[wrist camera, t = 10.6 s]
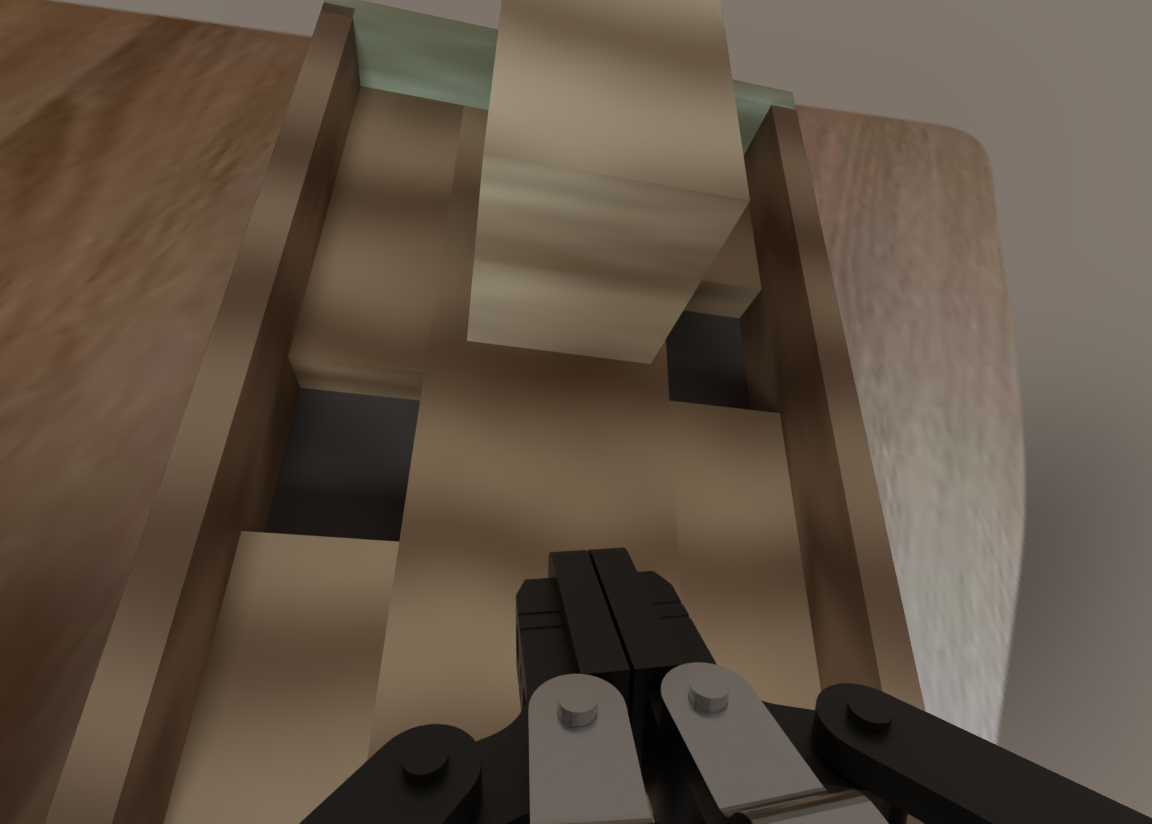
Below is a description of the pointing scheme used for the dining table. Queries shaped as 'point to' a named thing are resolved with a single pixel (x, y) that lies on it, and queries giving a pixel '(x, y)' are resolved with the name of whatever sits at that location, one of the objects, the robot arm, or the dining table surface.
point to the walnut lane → (466, 462)
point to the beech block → (603, 174)
